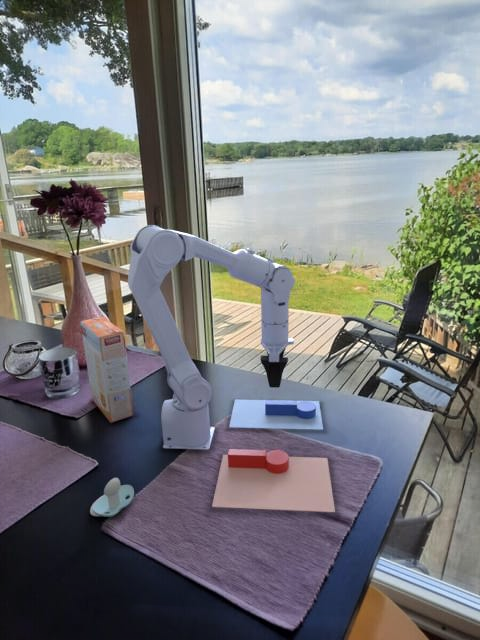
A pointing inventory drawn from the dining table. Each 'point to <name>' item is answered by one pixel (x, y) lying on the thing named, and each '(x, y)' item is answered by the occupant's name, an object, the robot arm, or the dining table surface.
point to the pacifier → (112, 499)
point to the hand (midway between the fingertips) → (275, 378)
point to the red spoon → (259, 460)
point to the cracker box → (107, 368)
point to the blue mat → (270, 417)
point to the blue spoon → (290, 408)
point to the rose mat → (276, 487)
